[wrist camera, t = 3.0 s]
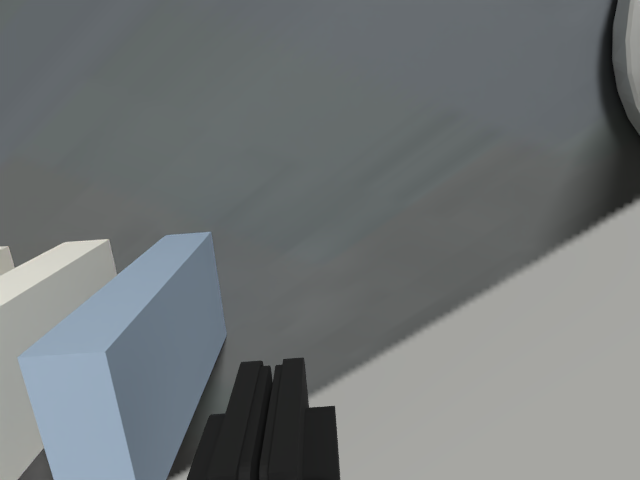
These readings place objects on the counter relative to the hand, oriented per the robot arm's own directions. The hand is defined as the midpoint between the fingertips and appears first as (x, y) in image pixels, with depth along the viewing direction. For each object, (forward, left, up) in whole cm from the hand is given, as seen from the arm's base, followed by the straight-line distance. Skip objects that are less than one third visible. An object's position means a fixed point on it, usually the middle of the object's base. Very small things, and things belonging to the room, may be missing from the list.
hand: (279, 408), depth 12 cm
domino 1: (+3, -3, -9) cm, 10 cm away
